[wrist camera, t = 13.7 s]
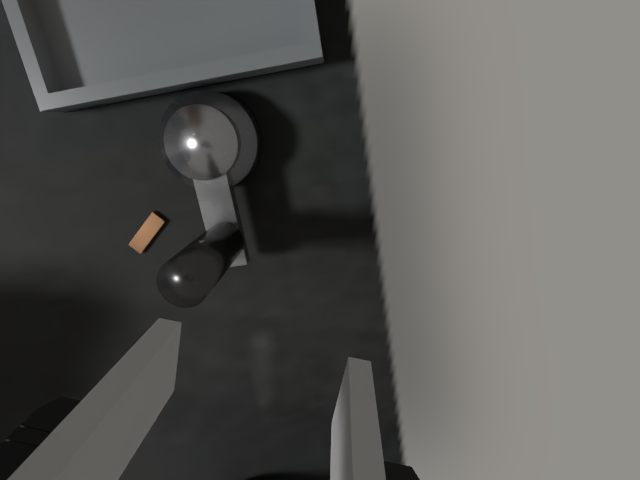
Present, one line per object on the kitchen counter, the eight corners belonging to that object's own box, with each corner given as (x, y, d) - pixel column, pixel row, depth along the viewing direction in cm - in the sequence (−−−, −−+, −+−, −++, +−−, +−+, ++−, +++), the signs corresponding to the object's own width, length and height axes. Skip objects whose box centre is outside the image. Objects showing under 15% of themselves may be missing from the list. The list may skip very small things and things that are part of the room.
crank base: (90, 114, 30) (72, 113, 28) (250, 84, 28) (244, 81, 27) (133, 253, 33) (120, 261, 31) (280, 231, 31) (276, 238, 30)
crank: (162, 112, 27) (79, 105, 18) (232, 99, 27) (180, 86, 18) (203, 266, 30) (149, 323, 22) (266, 257, 30) (236, 311, 21)
